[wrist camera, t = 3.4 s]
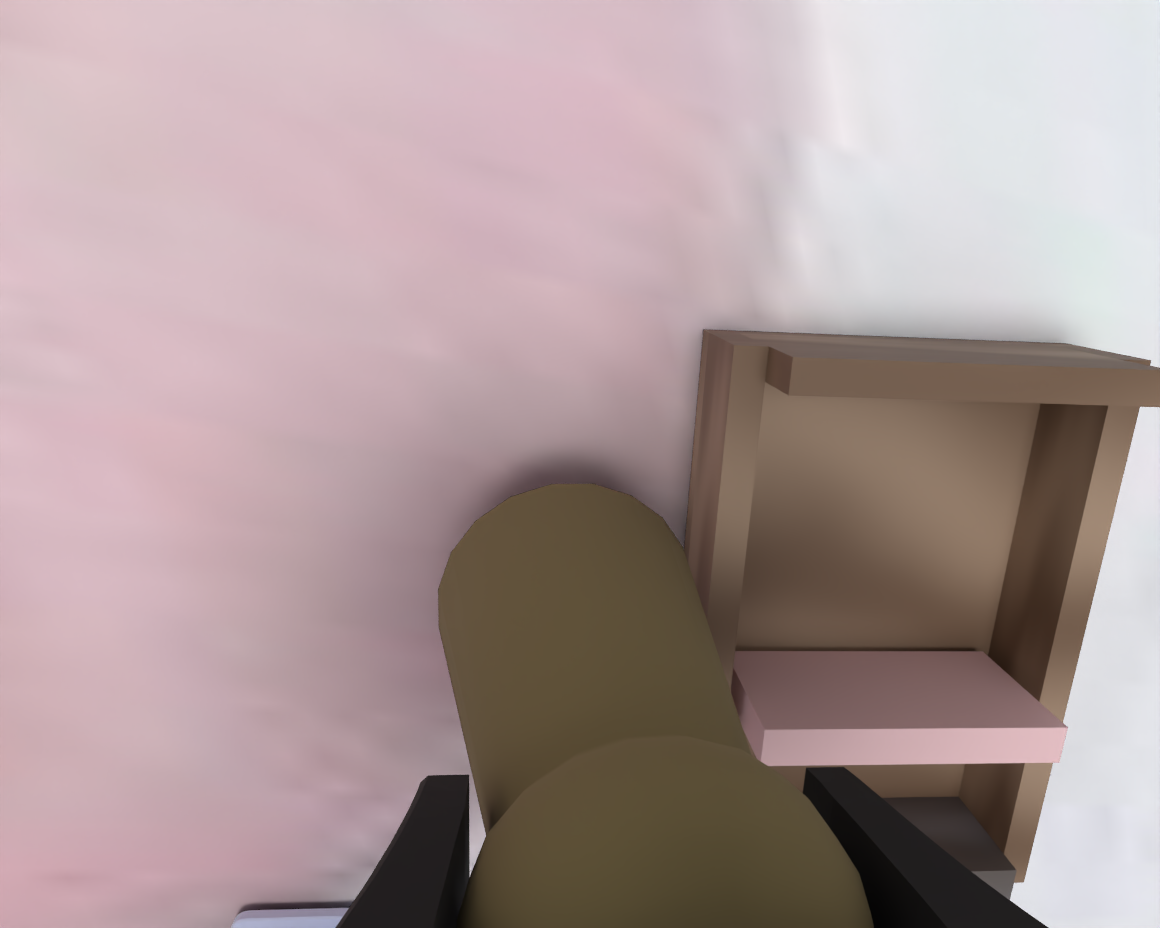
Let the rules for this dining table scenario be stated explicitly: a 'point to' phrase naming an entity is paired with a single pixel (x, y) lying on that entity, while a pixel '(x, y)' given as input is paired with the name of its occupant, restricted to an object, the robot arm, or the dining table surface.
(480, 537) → the olive bulbous piece
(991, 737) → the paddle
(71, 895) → the dining table surface
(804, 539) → the open box
